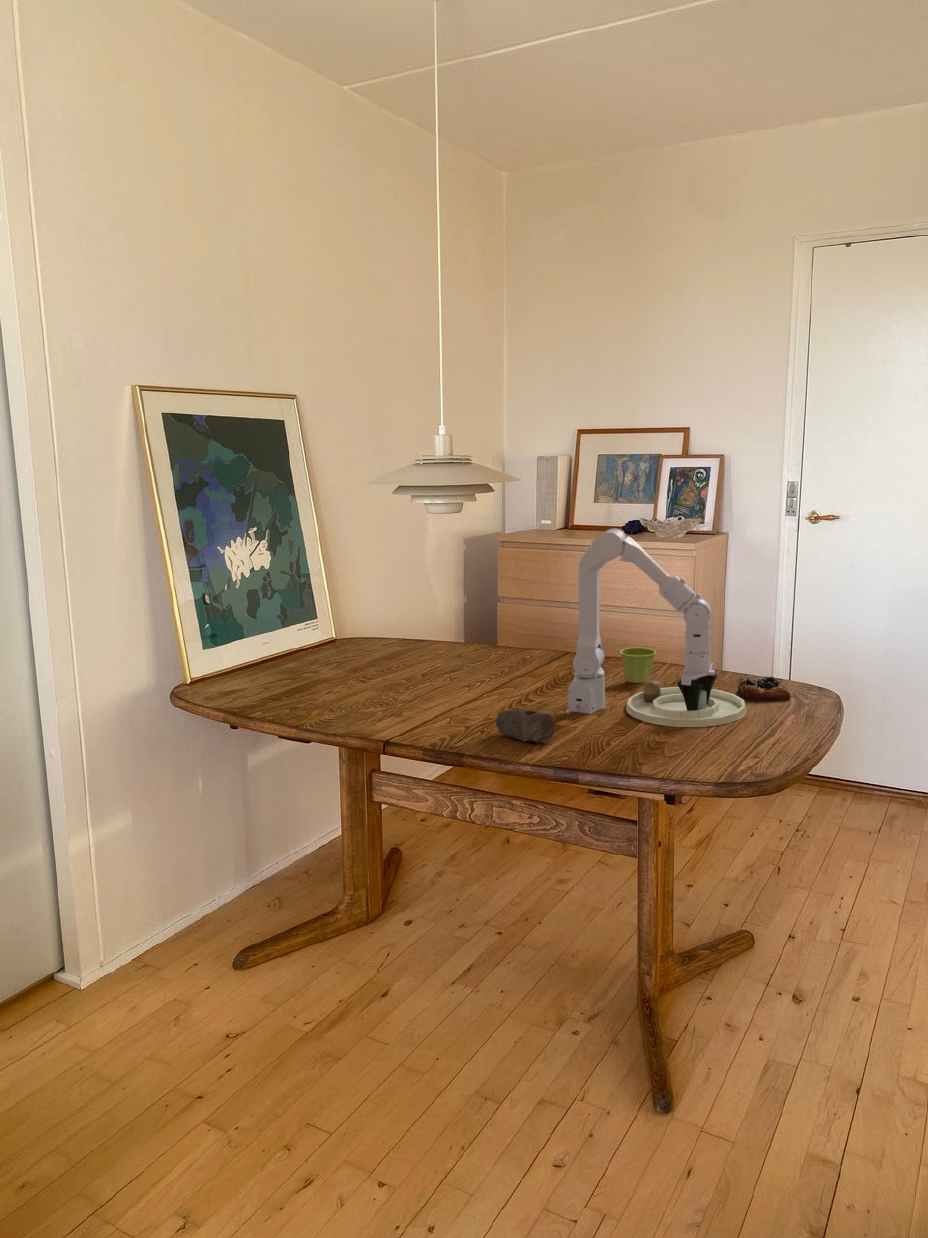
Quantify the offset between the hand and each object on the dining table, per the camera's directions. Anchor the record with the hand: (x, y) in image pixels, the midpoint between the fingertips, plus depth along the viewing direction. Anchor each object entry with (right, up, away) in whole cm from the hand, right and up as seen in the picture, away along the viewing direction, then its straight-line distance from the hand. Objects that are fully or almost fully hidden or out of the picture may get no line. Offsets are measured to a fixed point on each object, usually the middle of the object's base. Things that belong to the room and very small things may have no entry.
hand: (697, 707), depth 219 cm
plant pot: (-8, +3, +29) cm, 31 cm away
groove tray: (-2, -1, +2) cm, 3 cm away
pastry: (+19, +1, +10) cm, 21 cm away
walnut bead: (-9, +1, +9) cm, 13 cm away
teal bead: (0, -1, 0) cm, 1 cm away
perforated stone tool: (-42, -6, -11) cm, 43 cm away
